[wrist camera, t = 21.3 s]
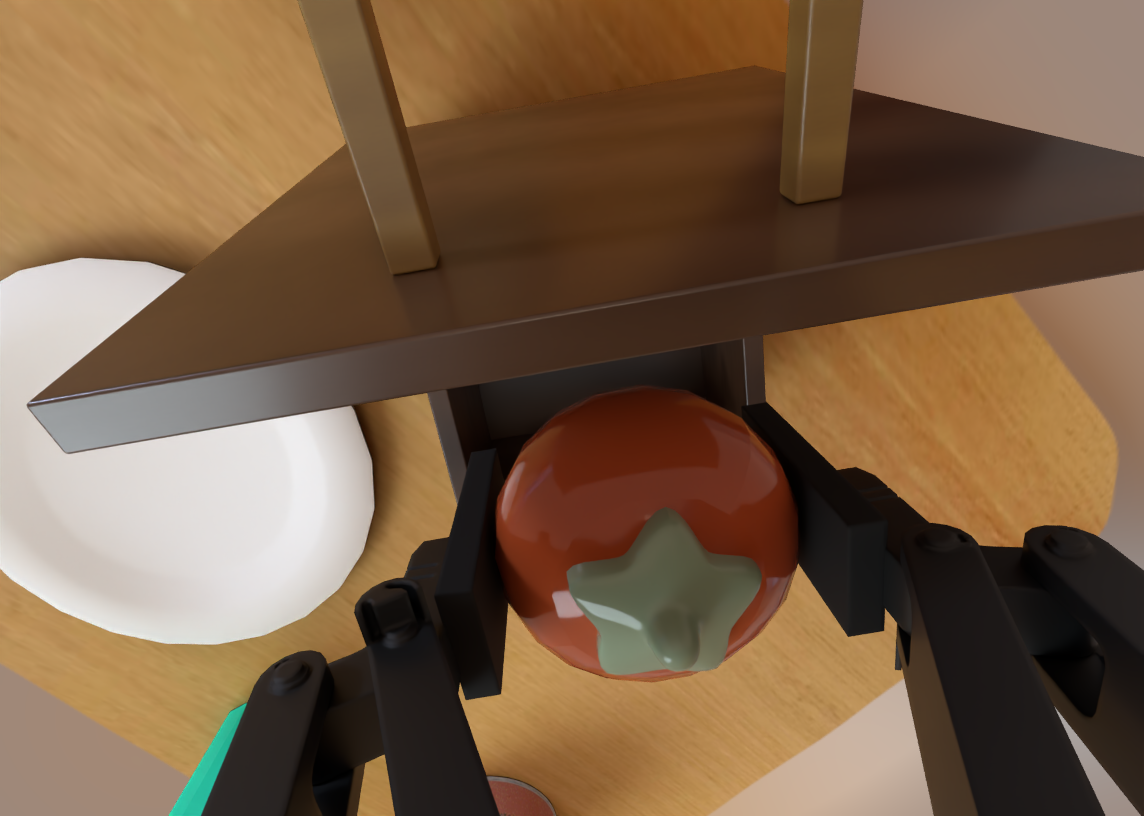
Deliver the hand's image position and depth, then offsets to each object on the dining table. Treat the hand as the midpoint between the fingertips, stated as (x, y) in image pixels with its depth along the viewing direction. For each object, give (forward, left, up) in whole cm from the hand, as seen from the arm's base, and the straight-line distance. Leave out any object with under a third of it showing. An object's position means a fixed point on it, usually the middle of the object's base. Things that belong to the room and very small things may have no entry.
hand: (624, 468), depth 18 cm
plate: (+26, +4, -18) cm, 32 cm away
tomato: (0, 0, 0) cm, 0 cm away
